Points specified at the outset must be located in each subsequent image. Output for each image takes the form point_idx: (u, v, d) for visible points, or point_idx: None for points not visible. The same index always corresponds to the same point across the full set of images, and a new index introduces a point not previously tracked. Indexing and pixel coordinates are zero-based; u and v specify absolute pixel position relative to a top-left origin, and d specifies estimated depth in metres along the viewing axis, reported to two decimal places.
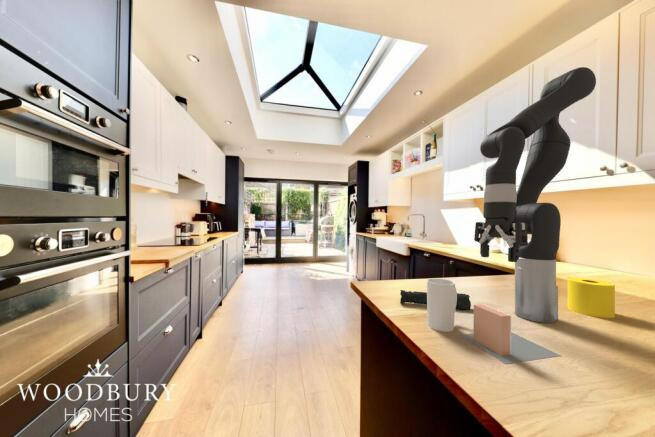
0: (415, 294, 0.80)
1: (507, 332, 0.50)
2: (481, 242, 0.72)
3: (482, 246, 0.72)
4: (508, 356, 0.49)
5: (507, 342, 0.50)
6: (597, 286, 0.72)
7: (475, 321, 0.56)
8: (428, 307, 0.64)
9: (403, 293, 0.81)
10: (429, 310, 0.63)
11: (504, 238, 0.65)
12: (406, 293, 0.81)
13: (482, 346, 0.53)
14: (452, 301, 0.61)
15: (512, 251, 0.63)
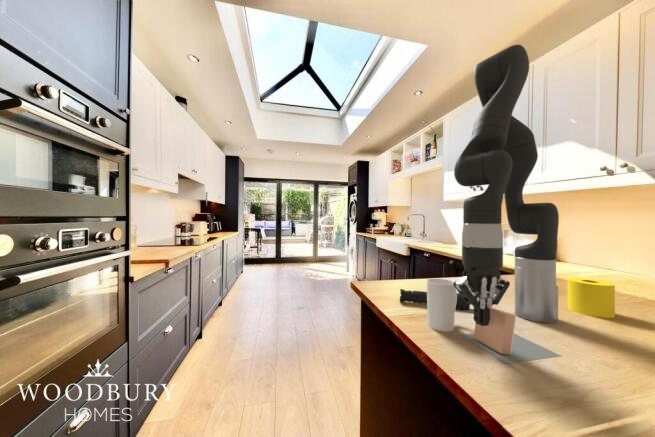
0: (414, 293, 0.81)
1: (510, 331, 0.50)
2: (484, 306, 0.52)
3: (484, 311, 0.52)
4: (508, 356, 0.49)
5: (509, 342, 0.50)
6: (597, 286, 0.72)
7: None
8: (428, 307, 0.64)
9: (402, 292, 0.82)
10: (429, 310, 0.63)
11: (491, 296, 0.52)
12: (405, 292, 0.82)
13: (482, 346, 0.53)
14: (452, 301, 0.61)
15: None
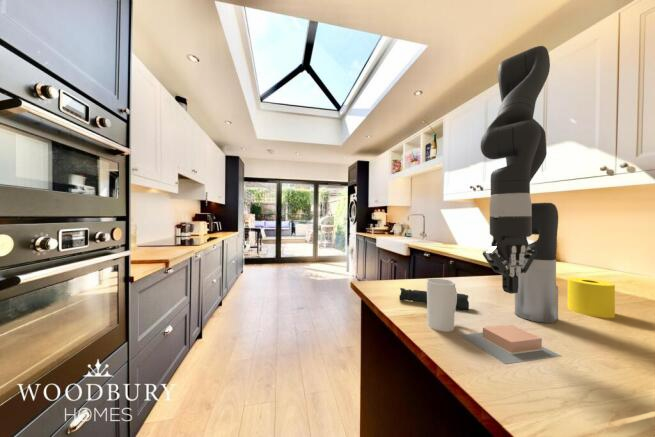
0: (413, 292, 0.82)
1: (529, 347, 0.51)
2: (513, 274, 0.53)
3: (513, 279, 0.53)
4: (508, 356, 0.49)
5: (521, 349, 0.51)
6: (597, 286, 0.72)
7: (500, 327, 0.57)
8: (428, 307, 0.64)
9: (402, 291, 0.83)
10: (429, 310, 0.63)
11: (520, 264, 0.53)
12: (405, 291, 0.83)
13: (482, 346, 0.53)
14: (452, 301, 0.61)
15: None
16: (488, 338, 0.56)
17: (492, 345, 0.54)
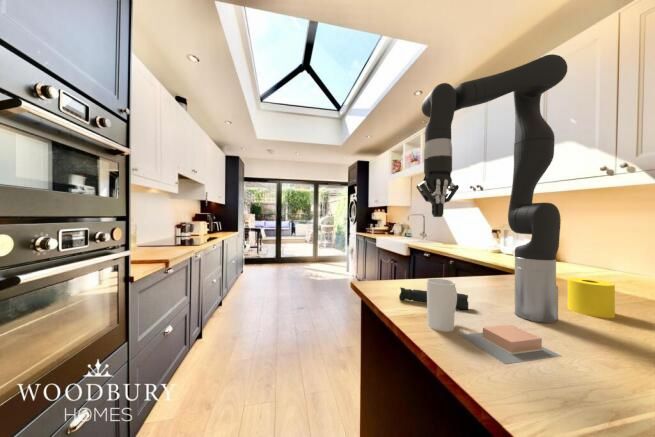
0: (413, 292, 0.82)
1: (529, 347, 0.51)
2: (438, 201, 0.70)
3: (439, 205, 0.70)
4: (508, 356, 0.49)
5: (521, 349, 0.51)
6: (597, 286, 0.72)
7: (500, 327, 0.57)
8: (428, 307, 0.64)
9: (402, 290, 0.84)
10: (429, 310, 0.63)
11: (443, 193, 0.70)
12: (405, 290, 0.84)
13: (482, 346, 0.53)
14: (452, 301, 0.61)
15: (442, 207, 0.71)
16: (488, 338, 0.56)
17: (492, 345, 0.54)
